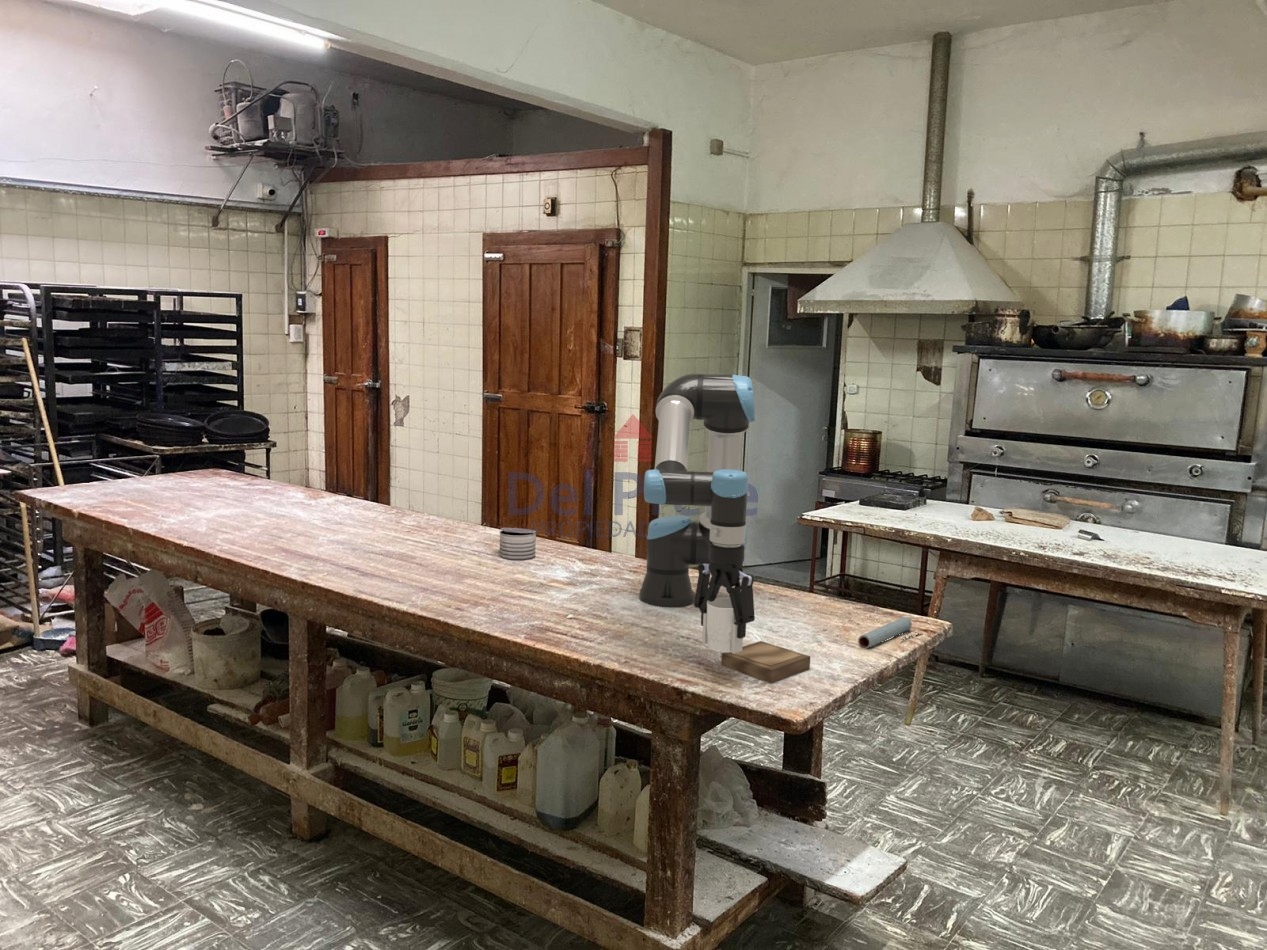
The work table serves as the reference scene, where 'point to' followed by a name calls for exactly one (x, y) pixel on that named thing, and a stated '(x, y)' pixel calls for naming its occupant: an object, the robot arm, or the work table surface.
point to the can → (517, 544)
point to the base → (766, 661)
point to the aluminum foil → (886, 632)
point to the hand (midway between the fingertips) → (722, 646)
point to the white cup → (720, 624)
